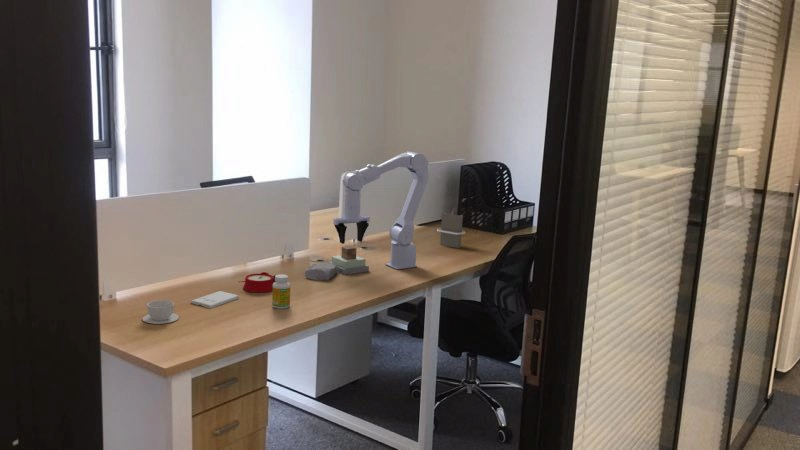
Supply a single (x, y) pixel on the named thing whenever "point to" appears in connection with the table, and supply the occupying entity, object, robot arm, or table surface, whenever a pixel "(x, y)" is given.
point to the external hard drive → (215, 299)
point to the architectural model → (451, 230)
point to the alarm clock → (259, 282)
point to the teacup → (160, 312)
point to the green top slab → (348, 262)
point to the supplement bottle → (281, 292)
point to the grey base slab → (351, 269)
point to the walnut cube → (348, 252)
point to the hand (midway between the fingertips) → (351, 242)
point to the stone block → (321, 271)
